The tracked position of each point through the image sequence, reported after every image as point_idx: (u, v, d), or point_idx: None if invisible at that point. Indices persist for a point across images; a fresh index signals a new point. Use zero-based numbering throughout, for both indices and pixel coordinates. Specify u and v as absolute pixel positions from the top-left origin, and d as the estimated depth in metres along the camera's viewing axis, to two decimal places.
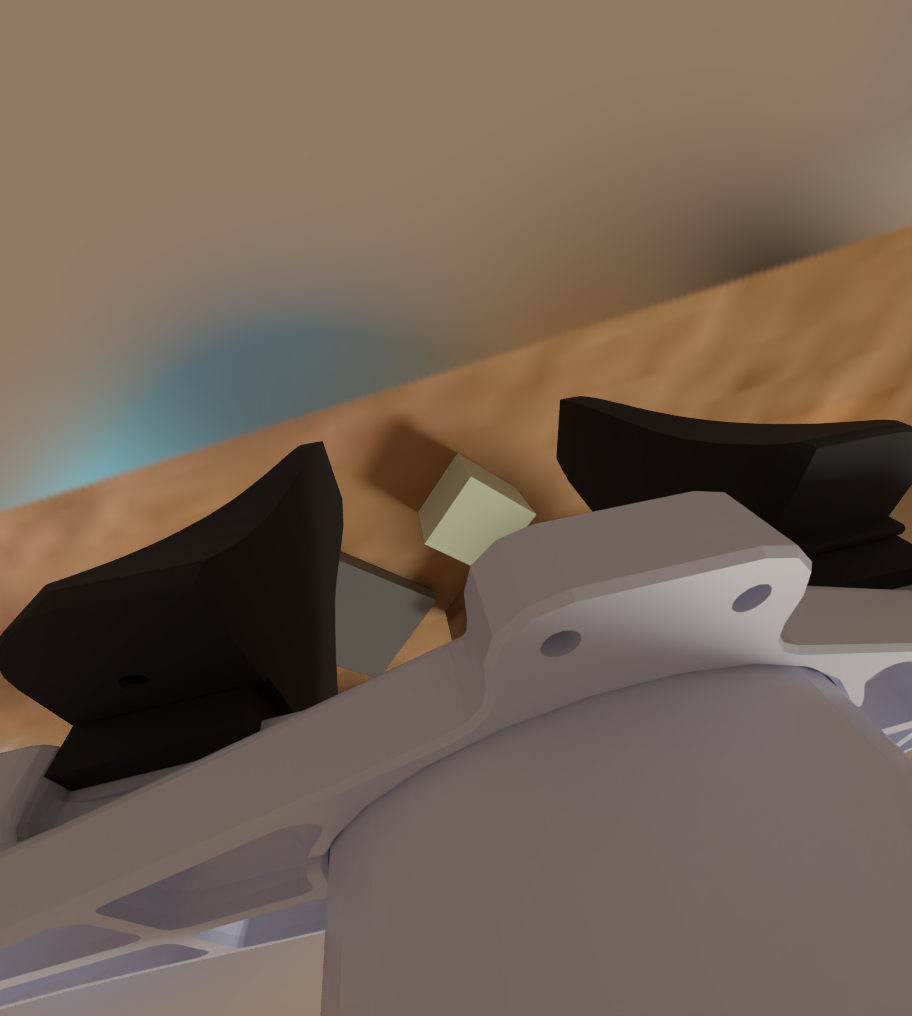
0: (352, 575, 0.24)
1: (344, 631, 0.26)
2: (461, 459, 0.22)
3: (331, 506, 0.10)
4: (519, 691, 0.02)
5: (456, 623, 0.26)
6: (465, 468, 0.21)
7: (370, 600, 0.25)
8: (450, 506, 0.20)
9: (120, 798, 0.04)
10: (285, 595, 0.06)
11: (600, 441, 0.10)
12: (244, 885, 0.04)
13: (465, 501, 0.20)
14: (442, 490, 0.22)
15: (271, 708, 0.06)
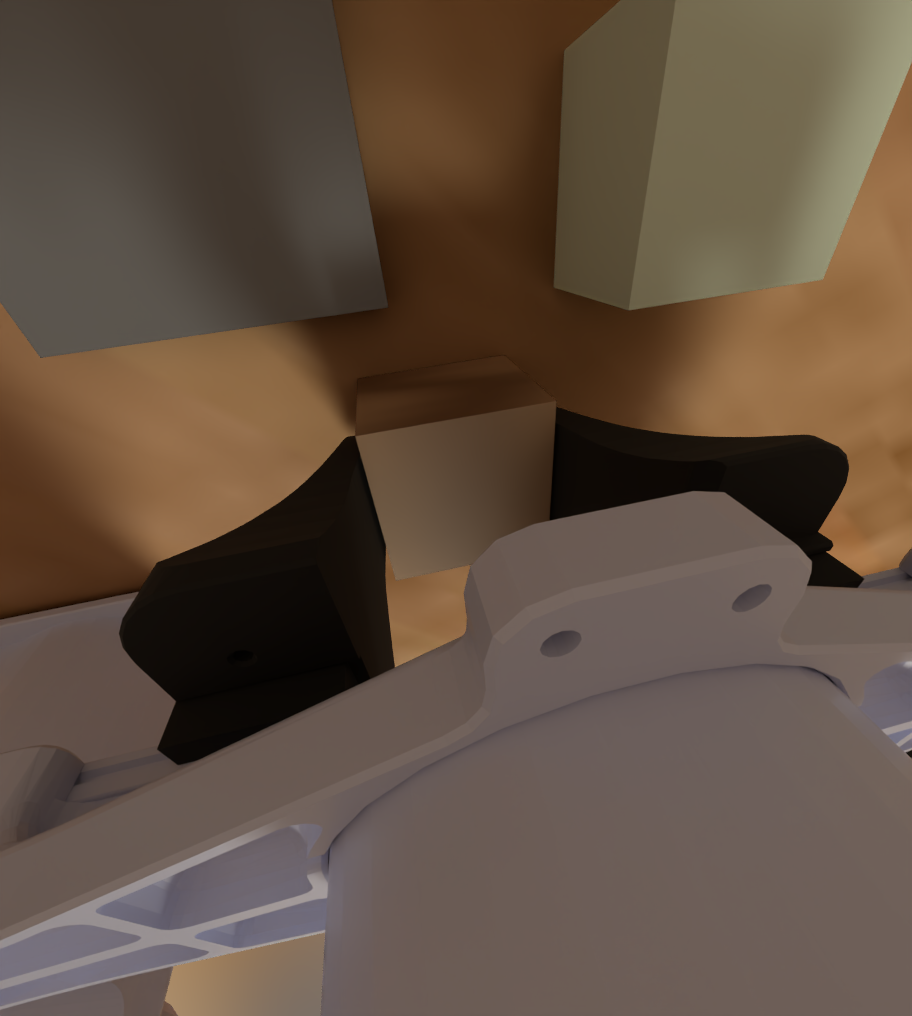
0: None
1: (46, 69, 0.07)
2: None
3: None
4: (519, 691, 0.02)
5: (388, 399, 0.10)
6: None
7: (240, 80, 0.07)
8: None
9: (120, 798, 0.04)
10: (361, 579, 0.07)
11: None
12: (244, 885, 0.04)
13: None
14: None
15: None
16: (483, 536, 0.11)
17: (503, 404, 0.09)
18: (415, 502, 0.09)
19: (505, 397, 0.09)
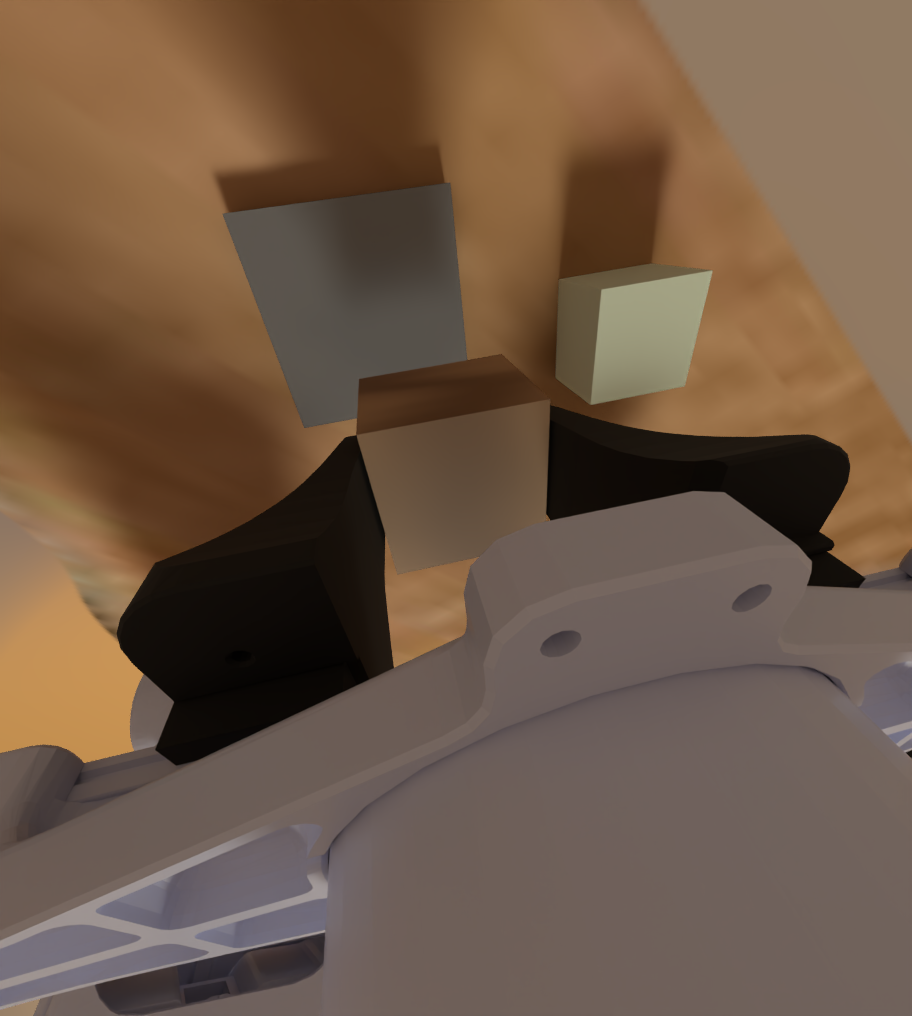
0: (440, 254, 0.15)
1: (343, 317, 0.16)
2: None
3: None
4: (520, 691, 0.02)
5: (388, 399, 0.10)
6: (688, 268, 0.16)
7: (417, 313, 0.16)
8: (665, 278, 0.15)
9: (120, 798, 0.04)
10: (359, 579, 0.07)
11: (553, 450, 0.10)
12: (244, 885, 0.04)
13: (678, 292, 0.15)
14: (628, 273, 0.16)
15: None
16: (481, 531, 0.11)
17: (498, 402, 0.09)
18: (415, 498, 0.10)
19: (501, 396, 0.09)
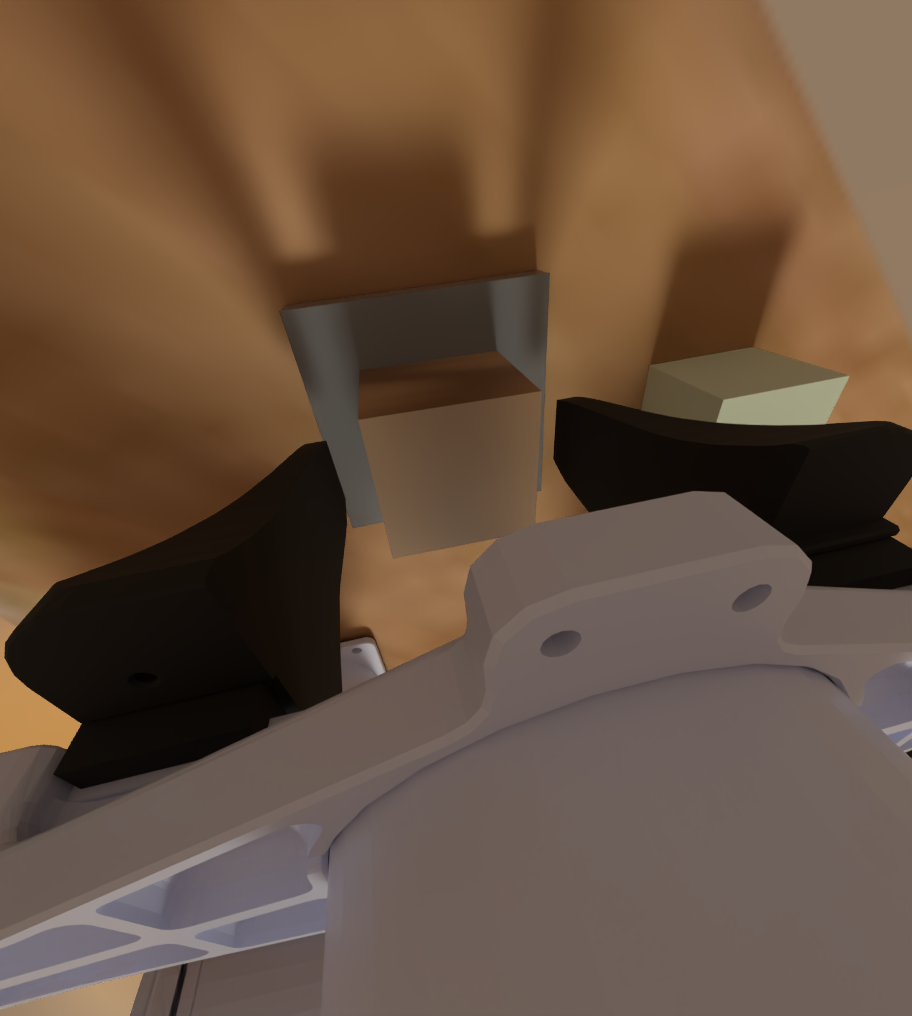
0: (528, 348, 0.13)
1: None
2: (774, 355, 0.15)
3: (335, 505, 0.10)
4: (519, 691, 0.02)
5: (388, 388, 0.11)
6: (810, 364, 0.14)
7: None
8: (796, 385, 0.12)
9: (120, 798, 0.04)
10: (291, 594, 0.06)
11: (596, 442, 0.10)
12: (244, 885, 0.04)
13: (807, 399, 0.13)
14: (735, 365, 0.14)
15: (278, 706, 0.06)
16: (474, 517, 0.11)
17: (493, 393, 0.10)
18: (412, 483, 0.10)
19: (495, 388, 0.10)
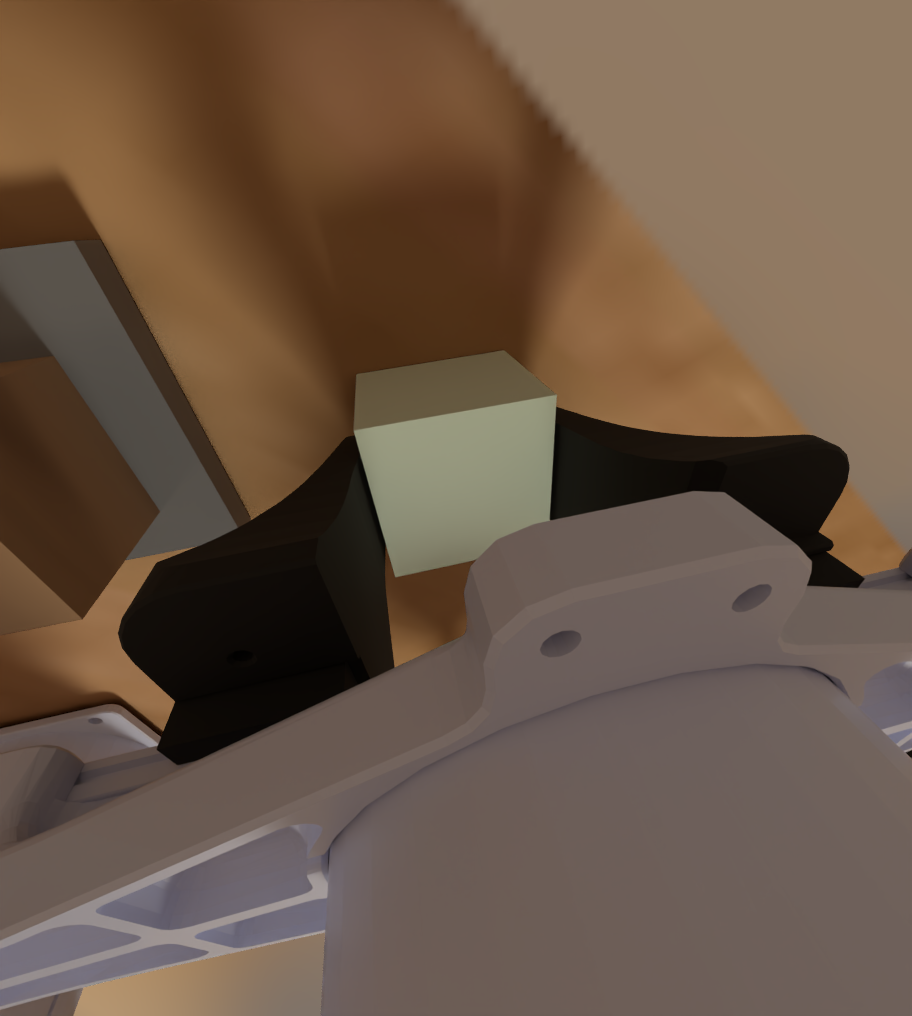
0: (106, 352, 0.09)
1: None
2: None
3: None
4: (519, 691, 0.02)
5: None
6: (533, 377, 0.10)
7: None
8: (471, 409, 0.08)
9: (120, 798, 0.04)
10: (360, 579, 0.07)
11: None
12: (244, 885, 0.04)
13: (501, 427, 0.09)
14: (447, 377, 0.10)
15: None
16: None
17: None
18: None
19: None
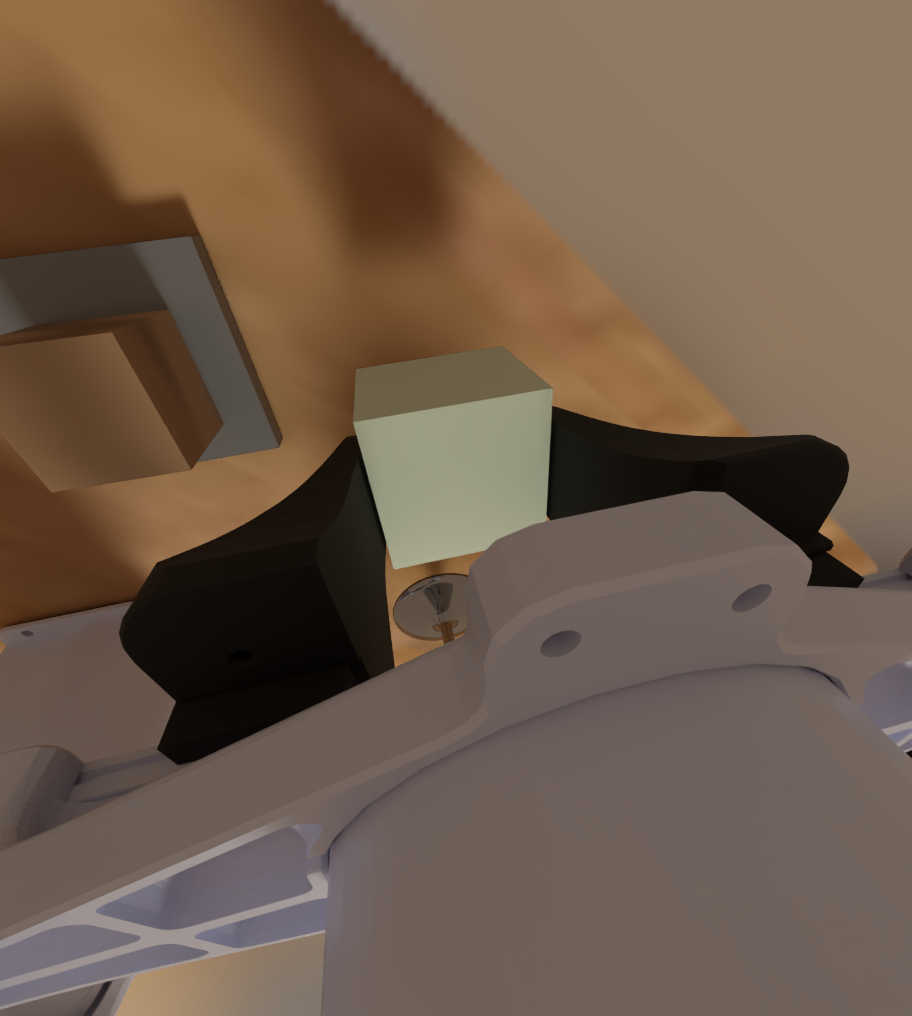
0: (201, 307, 0.14)
1: None
2: None
3: None
4: (519, 691, 0.02)
5: (15, 335, 0.12)
6: (530, 371, 0.10)
7: None
8: (469, 401, 0.09)
9: (120, 798, 0.04)
10: (361, 579, 0.07)
11: (552, 450, 0.10)
12: (244, 885, 0.04)
13: (498, 421, 0.09)
14: (445, 371, 0.10)
15: None
16: (116, 454, 0.13)
17: (75, 335, 0.11)
18: (27, 418, 0.12)
19: (87, 332, 0.11)
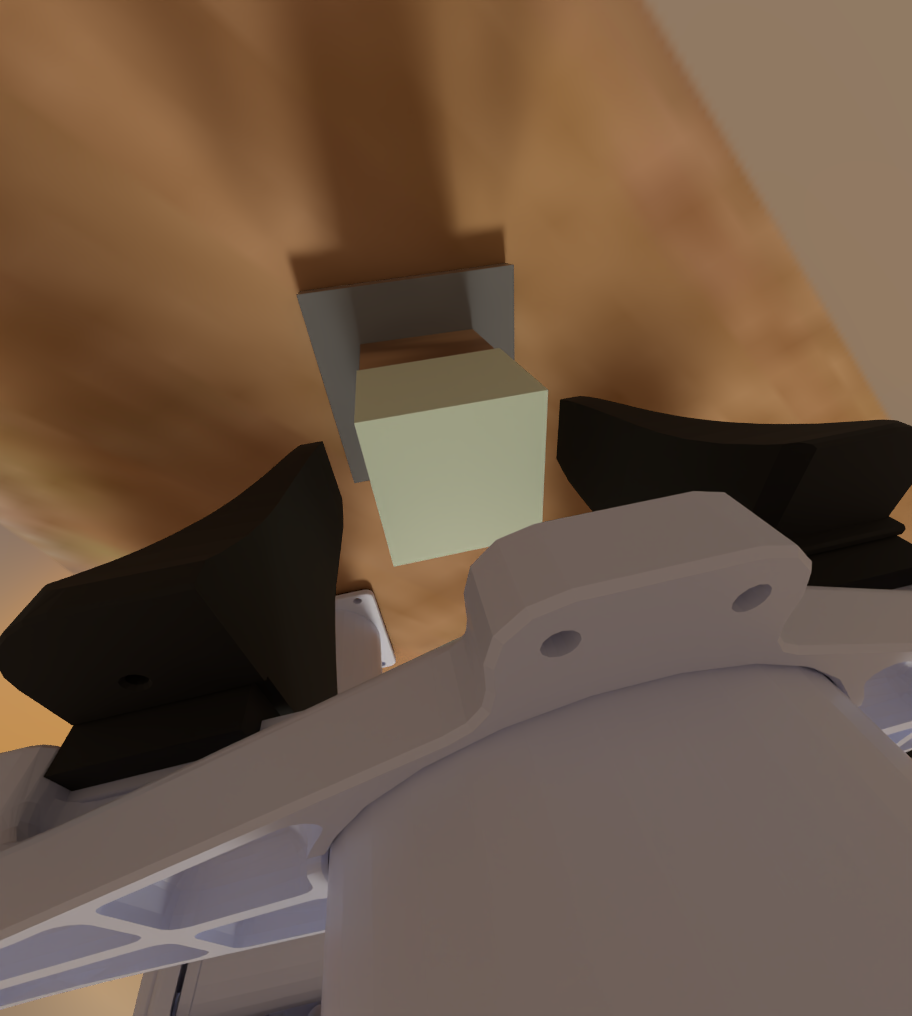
0: (498, 327, 0.16)
1: None
2: None
3: (331, 506, 0.10)
4: (519, 691, 0.02)
5: (382, 355, 0.13)
6: (526, 373, 0.10)
7: None
8: (466, 403, 0.09)
9: (120, 798, 0.04)
10: (285, 595, 0.06)
11: (600, 441, 0.10)
12: (244, 885, 0.04)
13: (495, 421, 0.09)
14: (444, 373, 0.11)
15: (271, 708, 0.06)
16: None
17: None
18: None
19: None
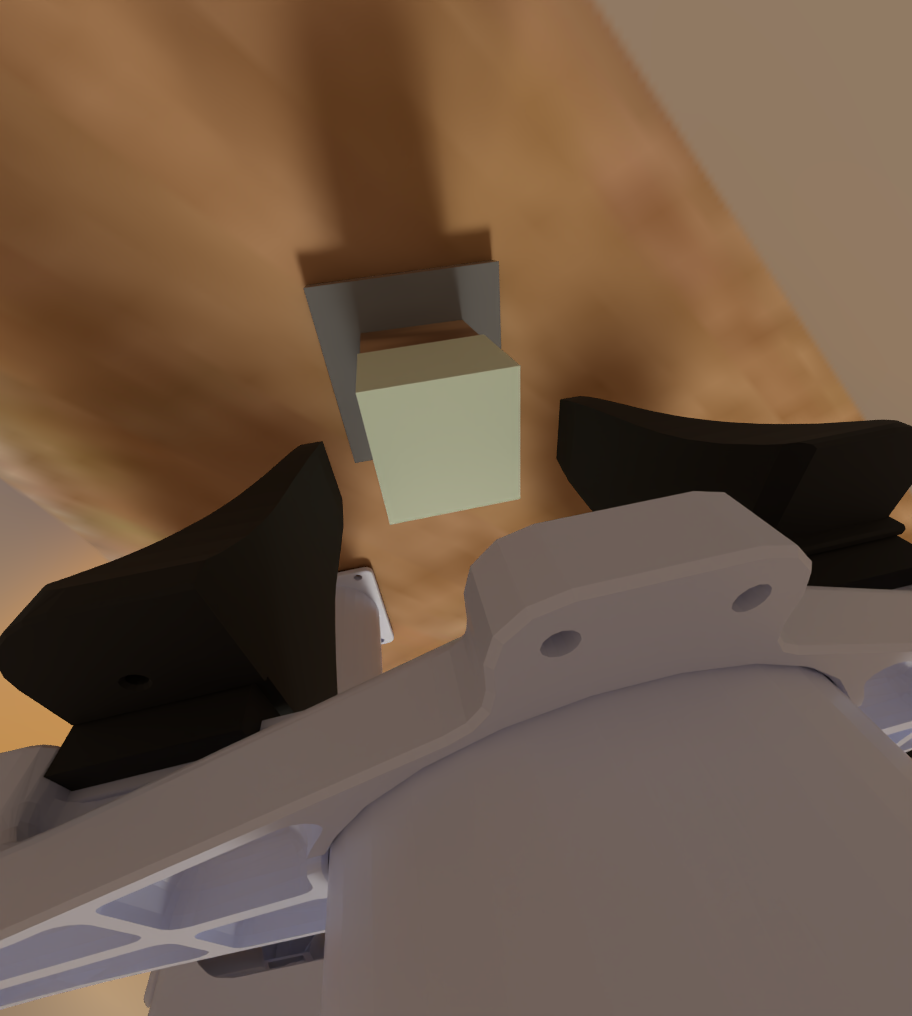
0: (486, 318, 0.17)
1: None
2: None
3: (331, 506, 0.10)
4: (519, 691, 0.02)
5: (380, 342, 0.15)
6: (504, 353, 0.12)
7: None
8: (451, 377, 0.10)
9: (120, 798, 0.04)
10: (285, 595, 0.06)
11: (600, 441, 0.10)
12: (244, 885, 0.04)
13: (476, 393, 0.11)
14: (433, 354, 0.12)
15: (271, 708, 0.06)
16: None
17: None
18: None
19: None
